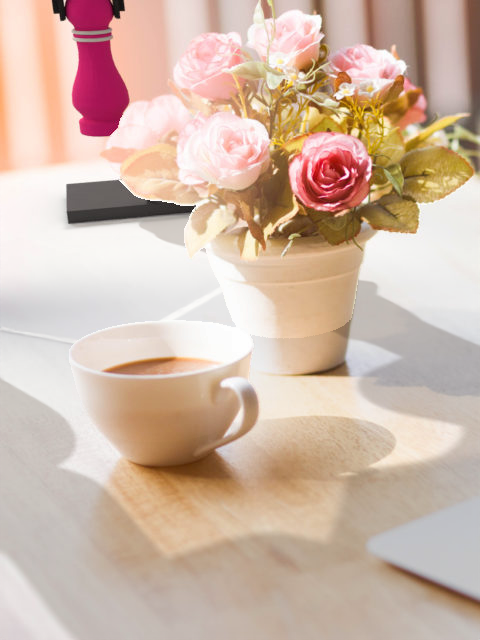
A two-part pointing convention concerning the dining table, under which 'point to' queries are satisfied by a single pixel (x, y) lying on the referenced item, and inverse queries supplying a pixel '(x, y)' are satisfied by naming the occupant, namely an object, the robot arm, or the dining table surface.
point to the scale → (112, 203)
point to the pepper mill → (96, 68)
